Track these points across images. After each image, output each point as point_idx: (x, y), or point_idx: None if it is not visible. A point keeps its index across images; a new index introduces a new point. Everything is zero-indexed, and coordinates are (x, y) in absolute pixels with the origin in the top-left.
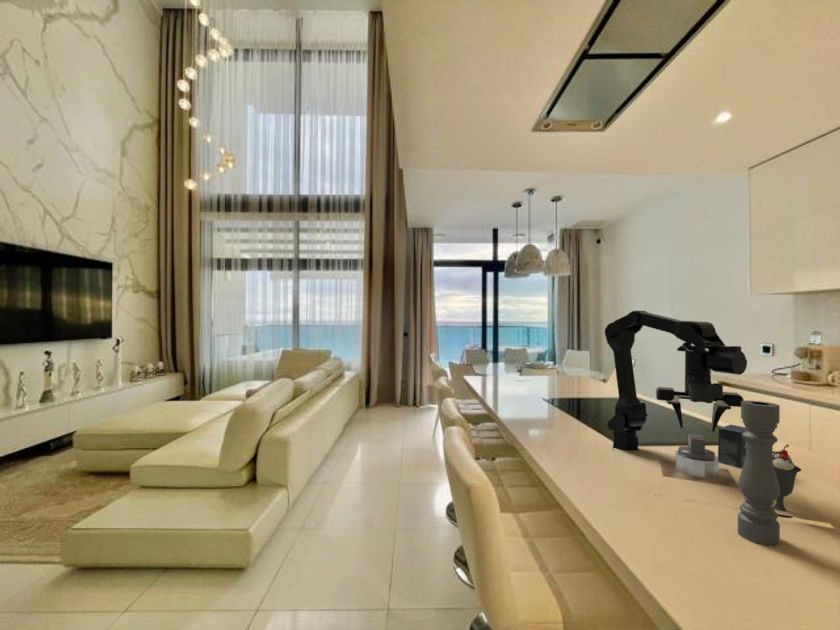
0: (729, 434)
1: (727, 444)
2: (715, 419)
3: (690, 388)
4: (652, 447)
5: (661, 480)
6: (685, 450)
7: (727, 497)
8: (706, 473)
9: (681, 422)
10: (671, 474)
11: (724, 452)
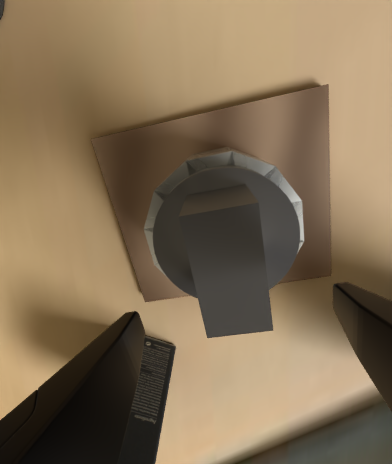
0: None
1: (136, 400)
2: (65, 387)
3: None
4: (339, 396)
5: (328, 65)
6: (270, 213)
7: (115, 33)
8: (185, 160)
9: (372, 304)
10: (296, 129)
11: (152, 375)
